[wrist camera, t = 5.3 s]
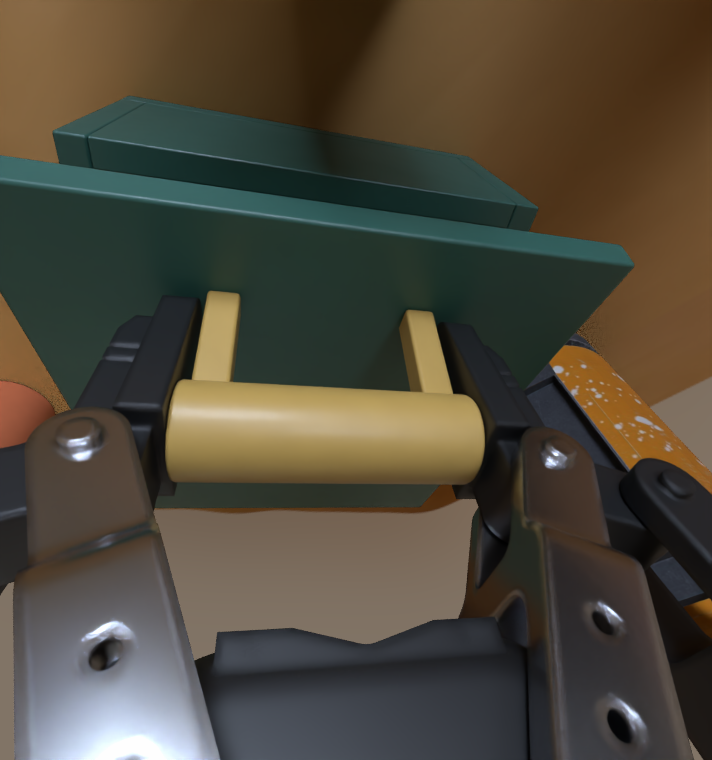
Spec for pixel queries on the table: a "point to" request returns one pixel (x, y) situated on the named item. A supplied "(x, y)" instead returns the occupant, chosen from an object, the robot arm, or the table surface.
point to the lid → (291, 325)
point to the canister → (617, 439)
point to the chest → (288, 162)
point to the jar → (20, 412)
